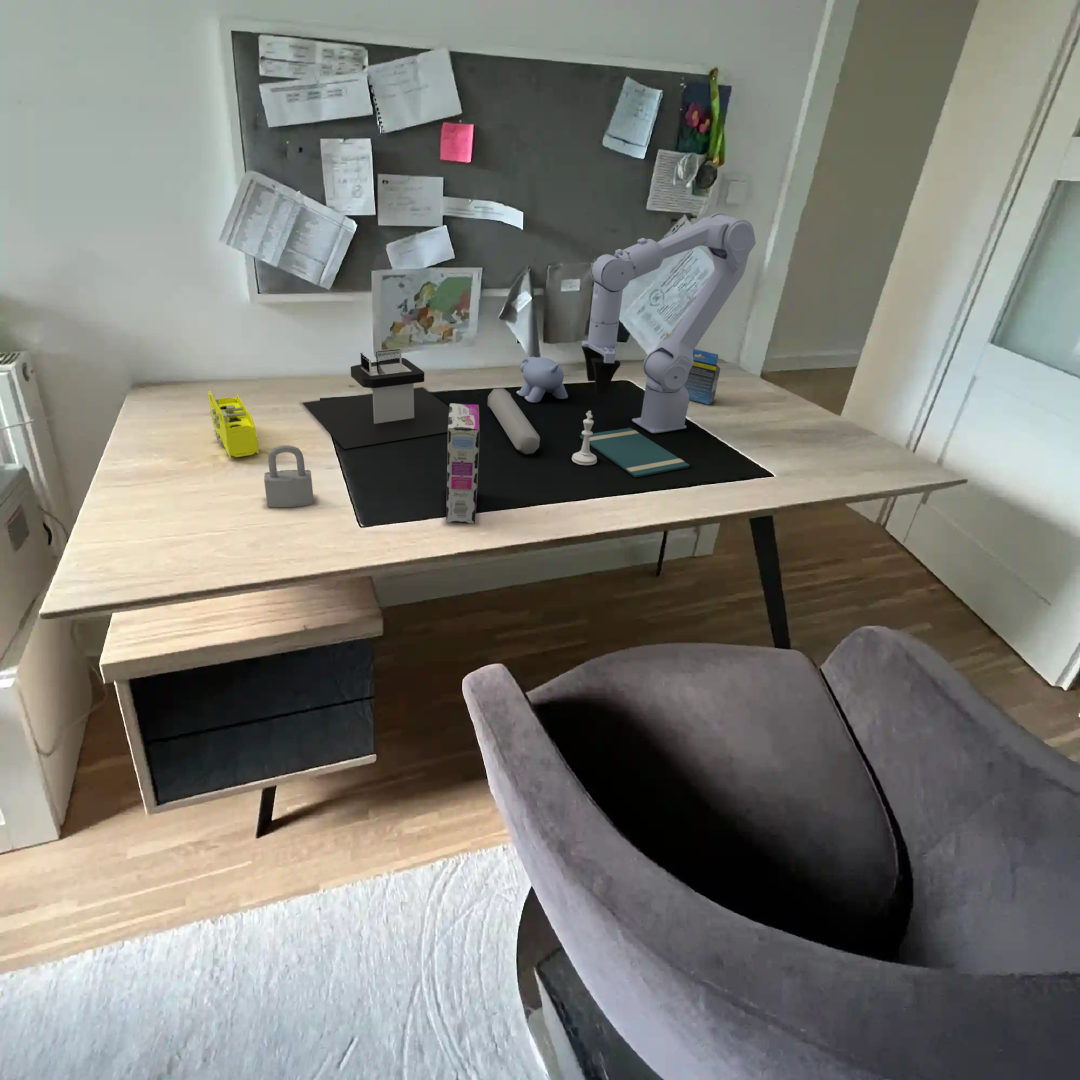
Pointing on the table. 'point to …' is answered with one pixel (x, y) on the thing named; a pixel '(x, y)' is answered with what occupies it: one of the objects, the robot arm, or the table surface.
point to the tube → (513, 421)
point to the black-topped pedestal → (382, 405)
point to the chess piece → (585, 445)
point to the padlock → (288, 481)
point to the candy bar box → (462, 463)
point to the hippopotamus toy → (541, 379)
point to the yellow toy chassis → (233, 426)
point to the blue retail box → (703, 377)
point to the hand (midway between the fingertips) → (596, 386)
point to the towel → (635, 452)
